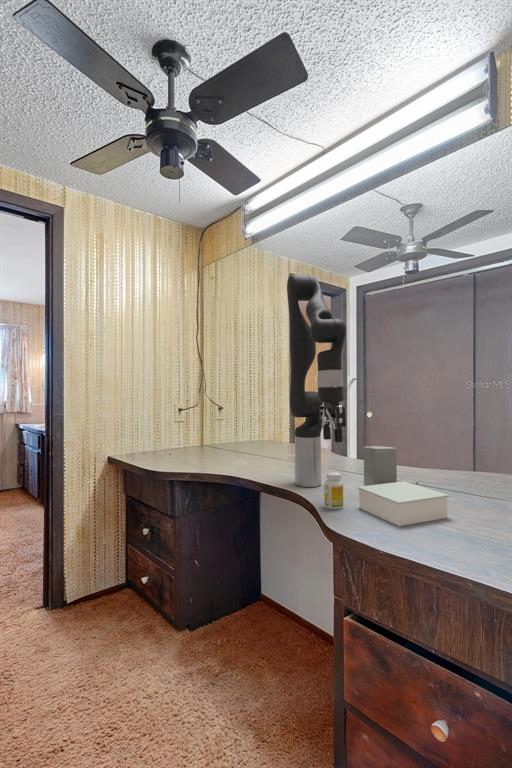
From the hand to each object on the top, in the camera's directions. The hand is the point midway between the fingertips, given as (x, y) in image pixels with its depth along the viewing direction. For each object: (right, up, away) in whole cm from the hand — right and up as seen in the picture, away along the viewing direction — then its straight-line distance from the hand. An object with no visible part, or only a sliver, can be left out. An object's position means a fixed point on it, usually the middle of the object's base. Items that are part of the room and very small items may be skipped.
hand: (332, 440), depth 115 cm
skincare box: (+17, -19, +8) cm, 26 cm away
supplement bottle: (0, -19, -2) cm, 19 cm away
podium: (+17, -19, -8) cm, 27 cm away
